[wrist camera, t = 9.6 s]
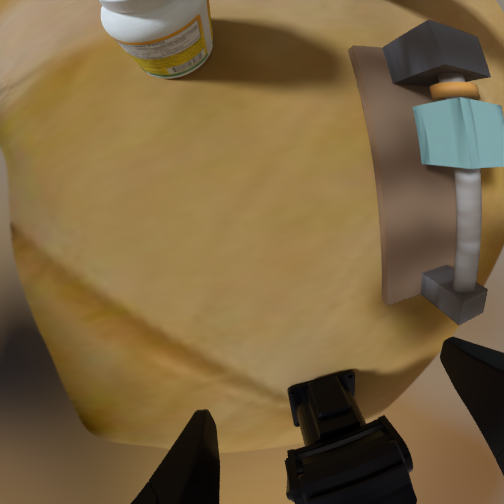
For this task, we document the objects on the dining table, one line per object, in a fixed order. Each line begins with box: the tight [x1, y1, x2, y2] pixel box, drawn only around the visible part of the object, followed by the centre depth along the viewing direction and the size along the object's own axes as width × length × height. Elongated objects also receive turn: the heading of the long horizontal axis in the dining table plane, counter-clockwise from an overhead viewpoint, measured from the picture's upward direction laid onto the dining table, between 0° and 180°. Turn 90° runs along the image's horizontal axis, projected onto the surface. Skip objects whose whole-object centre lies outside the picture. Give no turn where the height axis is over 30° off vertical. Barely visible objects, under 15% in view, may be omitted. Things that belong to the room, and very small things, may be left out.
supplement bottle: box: [99, 0, 213, 79], centre depth 10 cm, size 5×5×10 cm
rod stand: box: [348, 20, 491, 325], centre depth 15 cm, size 20×10×7 cm, turn 11°
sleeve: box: [412, 97, 504, 169], centre depth 13 cm, size 4×5×5 cm
